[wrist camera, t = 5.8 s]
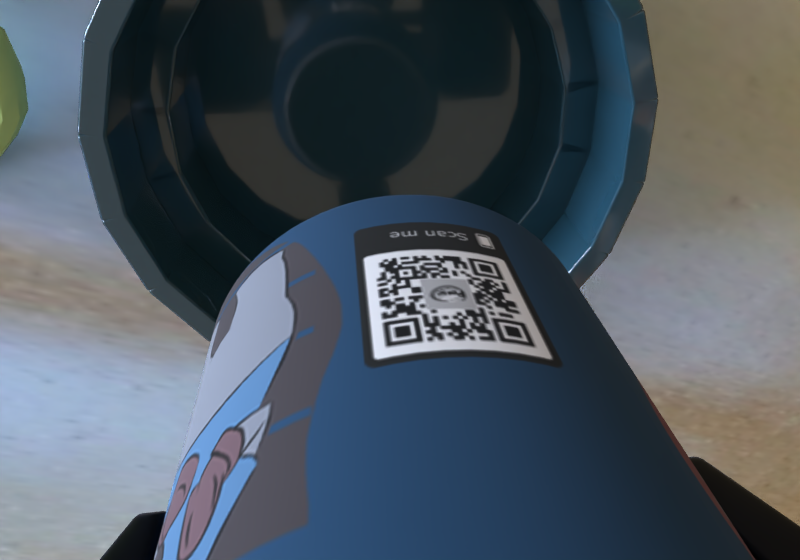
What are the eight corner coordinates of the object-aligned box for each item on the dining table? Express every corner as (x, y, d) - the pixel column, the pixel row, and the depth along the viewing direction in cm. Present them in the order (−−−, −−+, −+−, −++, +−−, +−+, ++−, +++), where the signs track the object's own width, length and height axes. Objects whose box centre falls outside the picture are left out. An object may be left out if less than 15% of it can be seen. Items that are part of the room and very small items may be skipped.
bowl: (656, -69, 18) (762, -58, 14) (494, 321, 24) (533, 415, 20) (164, -244, 15) (102, -300, 11) (116, 248, 21) (63, 339, 17)
